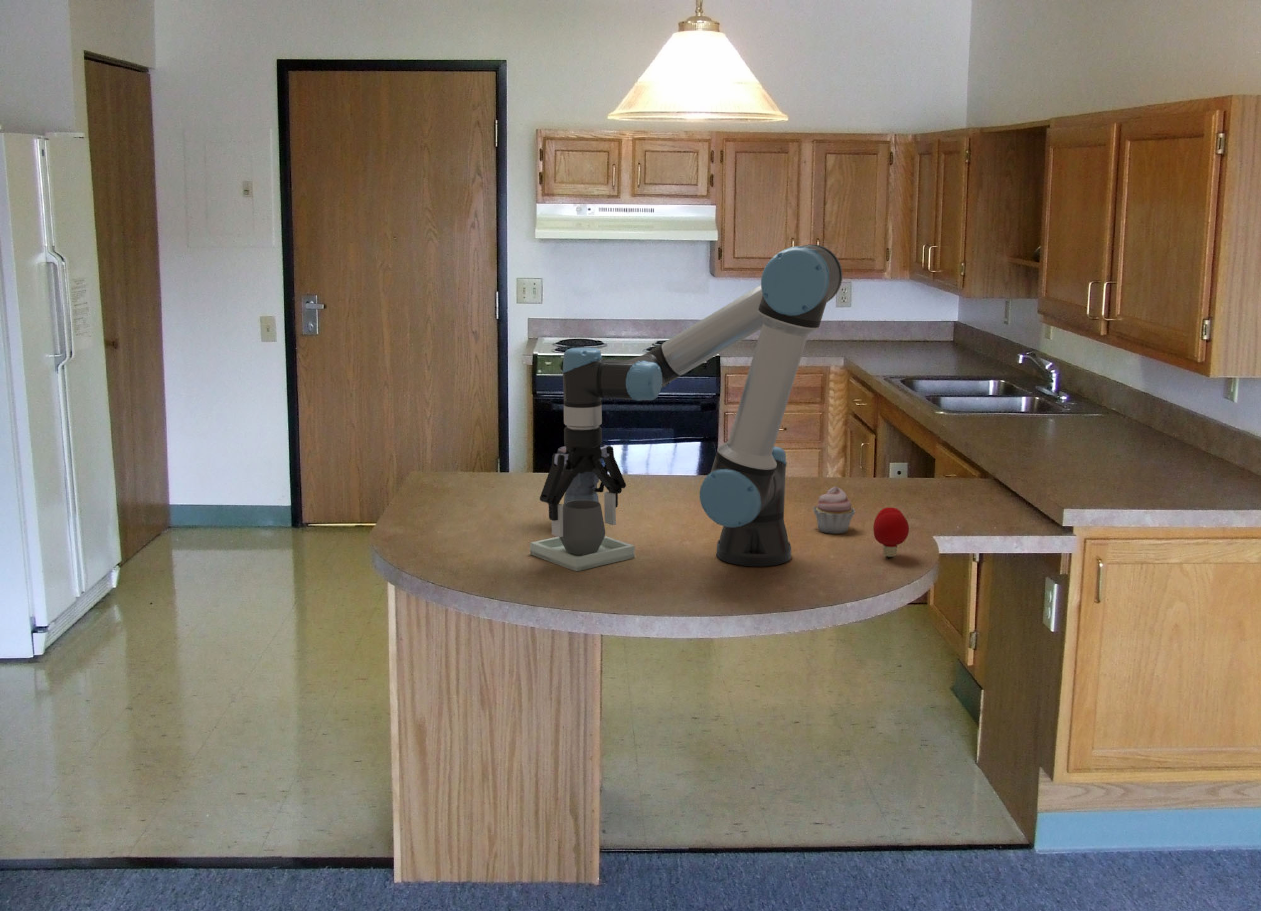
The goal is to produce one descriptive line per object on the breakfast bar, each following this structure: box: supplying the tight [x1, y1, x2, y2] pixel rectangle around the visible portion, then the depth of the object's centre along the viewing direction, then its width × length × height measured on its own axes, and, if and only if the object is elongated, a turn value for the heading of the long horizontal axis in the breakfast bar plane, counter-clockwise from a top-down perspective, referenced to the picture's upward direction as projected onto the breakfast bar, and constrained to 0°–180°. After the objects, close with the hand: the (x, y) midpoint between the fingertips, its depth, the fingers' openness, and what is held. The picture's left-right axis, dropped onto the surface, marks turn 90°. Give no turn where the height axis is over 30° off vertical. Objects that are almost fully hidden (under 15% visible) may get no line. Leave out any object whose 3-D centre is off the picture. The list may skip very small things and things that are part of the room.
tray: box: [529, 535, 636, 572], centre depth 267 cm, size 15×15×2 cm
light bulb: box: [873, 507, 910, 559], centre depth 267 cm, size 9×7×10 cm
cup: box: [559, 500, 606, 555], centre depth 266 cm, size 10×9×10 cm
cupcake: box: [812, 486, 856, 535], centre depth 287 cm, size 9×9×10 cm
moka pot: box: [557, 445, 609, 504], centre depth 286 cm, size 10×15×20 cm, turn 51°
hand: (584, 529), depth 266 cm, fingers open, 13 cm apart
